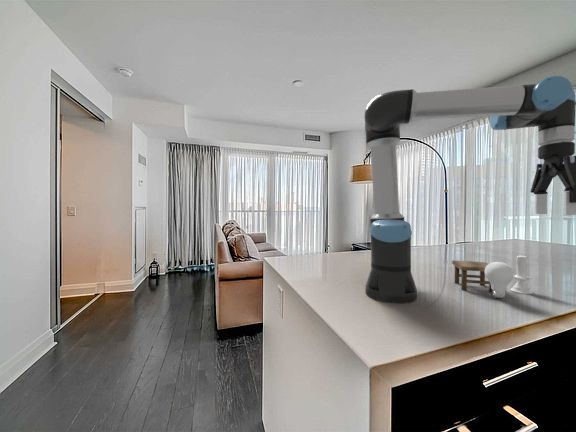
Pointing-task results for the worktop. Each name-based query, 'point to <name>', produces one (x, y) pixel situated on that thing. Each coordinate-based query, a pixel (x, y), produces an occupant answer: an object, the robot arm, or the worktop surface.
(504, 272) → the light bulb
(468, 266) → the small wooden table
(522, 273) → the candle
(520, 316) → the worktop surface
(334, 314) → the worktop surface
